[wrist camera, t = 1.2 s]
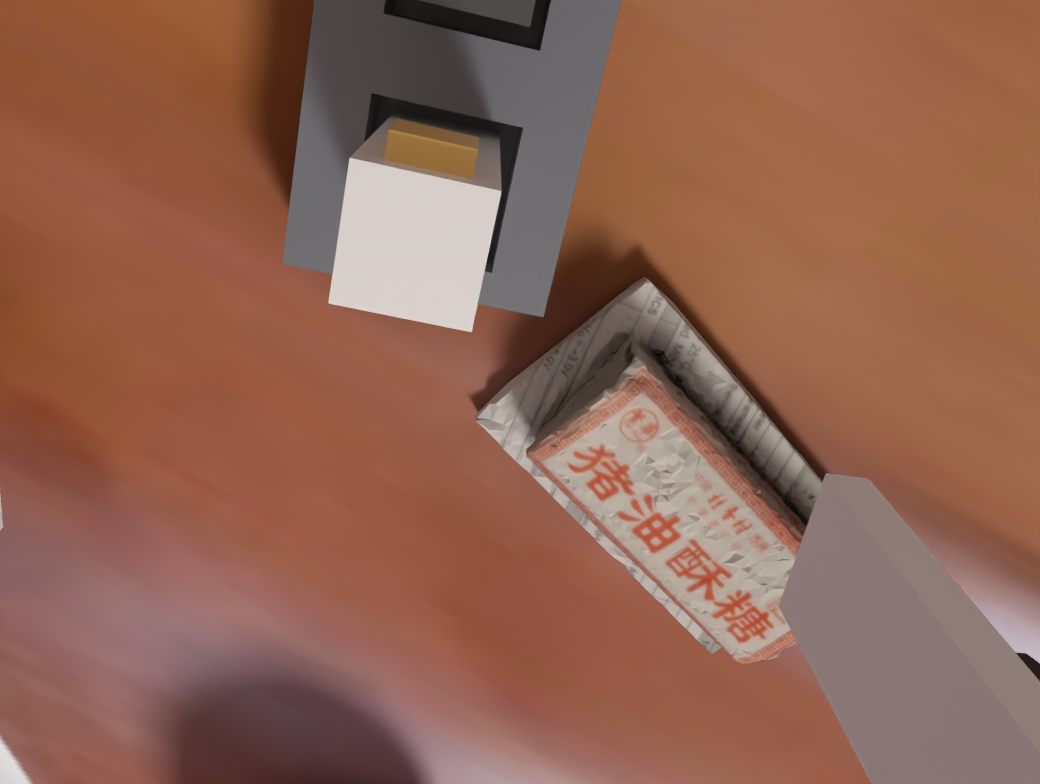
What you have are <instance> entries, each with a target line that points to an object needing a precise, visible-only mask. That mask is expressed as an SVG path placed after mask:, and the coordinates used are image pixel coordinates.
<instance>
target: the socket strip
mask: <svg viewBox="0 0 1040 784" xmlns="http://www.w3.org/2000/svg"><path fill="white" fill-rule="evenodd" d="M620 3H621V0H536V1H535V6H534V11H533V16H532V20H531V25H530V27H527V26H523V25H519V24H515V23H510V22H506V21H502V20H498V19H494V18H490V17H486V16H482V15H477V14H473V13H469V12H465V11H461V10H457V9H453V8H448V7H444V6H440V5H436V4H432V3H428V2H424V1H420V0H314V7H313V15H312V24H311V32H310V40H309V48H308V57H307V65H306V73H305V81H304V90H303V98H302V106H301V114H300V123H299V131H298V139H297V147H296V156H295V164H294V172H293V180H292V189H291V197H290V205H289V213H288V222H287V230H286V238H285V246H284V255H283V263H282V264H286V265H291V266H296V267H301V268H305V269H310V270H315V271H320V272H325V273H330V274H333V268H334V261H335V255H336V248H337V241H338V234H339V227H340V220H341V213H342V206H343V199H344V192H345V185H346V178H347V172H348V165H349V158H350V157H351V156H352V155H353V154H354V153H355V152H356V151H357V150H358V148H359V147H360V146H361V145H362V144H363V143H364V142H365V141H366V140H367V139H368V138H369V137H370V136H371V135H372V134H373V133H374V132H375V131H376V130H377V129H378V128H379V127H380V126H381V125H382V124H383V123H384V122H385V121H386V120H387V119H388V118H389V117H390V116H391V115H392V114H393V113H394V112H395V111H396V110H397V109H398V110H402V111H406V112H411V113H415V114H420V115H424V116H428V117H433V118H437V119H442V120H446V121H450V122H455V123H459V124H464V125H468V126H472V127H477V128H481V129H486V130H490V131H494V132H499V135H500V161H501V187H502V192H501V197H500V201H499V206H498V211H497V215H496V220H495V225H494V229H493V234H492V239H491V243H490V248H489V253H488V257H487V262H486V267H485V271H484V276H483V281H482V286H481V290H480V295H479V300H478V304H481V305H486V306H491V307H496V308H501V309H505V310H510V311H515V312H520V313H525V314H530V315H535V316H540V317H544V313H545V309H546V305H547V300H548V296H549V292H550V288H551V284H552V280H553V276H554V272H555V268H556V264H557V260H558V256H559V252H560V248H561V243H562V239H563V235H564V231H565V227H566V223H567V219H568V215H569V211H570V207H571V203H572V199H573V195H574V190H575V186H576V182H577V178H578V174H579V170H580V166H581V162H582V158H583V154H584V150H585V146H586V142H587V138H588V133H589V129H590V125H591V121H592V117H593V113H594V109H595V105H596V101H597V97H598V93H599V89H600V85H601V80H602V76H603V72H604V68H605V64H606V60H607V56H608V52H609V48H610V44H611V40H612V36H613V32H614V28H615V23H616V19H617V15H618V11H619V7H620Z"/></svg>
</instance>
